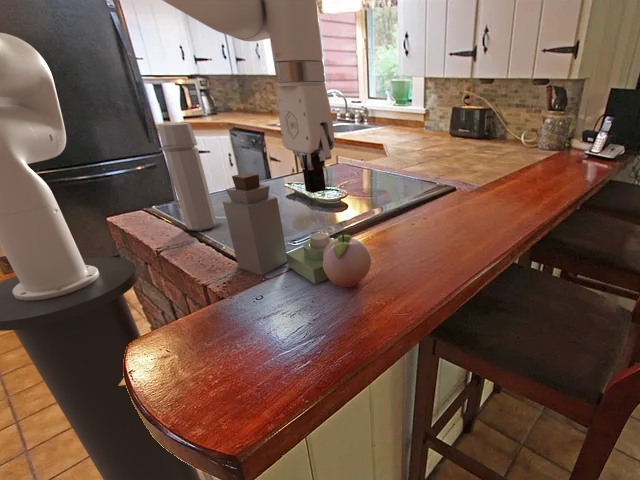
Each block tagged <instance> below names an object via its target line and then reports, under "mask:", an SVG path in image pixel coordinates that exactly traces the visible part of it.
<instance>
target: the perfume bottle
mask: <svg viewBox="0 0 640 480" xmlns="http://www.w3.org/2000/svg"><path fill="white" fill-rule="evenodd" d="M231 179H232V182H233V185H234V186H233V187H229V188H226V189H225V191H226V193H227V196H229V198H230V199H227V200H224V201H222V205H223V209H224V214H225V217H226V223H227V226H228V230H229V234H230V238H231V243H232V247H233V251H234V255H235V260H236V263H237V267H238V269H242V270H244V271H247V272H251V273H253V274H257V275H260V276H263V275H265V274H267V273H269V272H271V271H273V270H275V269H277V268H279V267H281V266H283V265H284V264H287V263H288V261H287V255H286V253H287V248H286V241H285V237H284V231H283V225H282V224H283V223H282V219H281V213H280V206H279V200H278V197H277V196H271V195H269V194H270V185H266V184H260V176H259V174H258V173H253V172H252V173H251V172H244V173H239V174H235V175H231Z"/></svg>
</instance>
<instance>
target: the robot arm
mask: <svg viewBox="0 0 640 480" xmlns="http://www.w3.org/2000/svg"><path fill="white" fill-rule="evenodd" d="M162 1H163V2H164V3H166V4H168V5H170V6H172V7H173V8H175V9H177V10H179V11H180V12H182V13H183V14H185V15H187V16H188V17H190V18H192V19H194V20H196V21H197V22H199V23H201V24H202V25H205V26H206V27H208V28H210V29H212V30H214V31H215V32H218V33H221V34H222V35H227V36H229V37H232V38H235V39H237V40H240V41H243V42H249V43H250V42H259V41H264V40H269V41H270V47H271V48H270V49H271V54H272V60H273V61H272V62H273V68H274V72H275V79H276V87H277V106H278V107H277V108H278V119H279V126H280V134H281V135H280V137H281V141H282V146H283V147H284V148H285V149H286V150H288V151H292V153H293V155H295V156H296V157H297V158H298V160H299V165H300V168H301V169H302V174H303V181H304V188H305V191H306V192H307V193H310V194H315V193H319V192H324V191H326V179H325V170H324V169H325V166H326V161H329V160H331V159H332V152H331V151H332V150H333V149H334V148H335V130H334V121H333V115H332V110H331V104H330V98H329V95H328V90H327V87H326V86H327V83H326V82H327V81H326V72H325V64H324V55H323V45H322V37H321V36H322V35H321V27H320V17H319V6H318V0H162ZM60 105H61V104H60V102H59V98H58V94H57V89H56V85H55V81H54V77H53V75H52V72H51V70H50V68H49V66H48V64H47V62H46V61H45V59H44V58H43V56H42V55H41V54H40V52H38V51H37V49H35V48H34V47H33V46H32V45H31V44H29V43H28V42H26V41H25V40H23V39H21V38H20V37H18V36H15V35H11V34H8V33H5V32H0V248H1V250H2V252H3V254H4V255H5V257H6V259H7V261H8V263H9V264H10V267H11V268H12V270H13V272H14V273H15V276H17V277H18V279H19V281H20V283H19V284H18V285H16V286H15V287H14V288H13V291H12V292H13V294H14V296H15V297H16V298H17V299H19V300H24V301H35V300H43V299H49V298H54V297H58V296H62V295H65V294H68V293H71V292H74V291H77V290H79V289H81V288H83V287H86V286H87V285H89V284H91V283H92V282H94V281H95V280H96V279H97V278H98V276H99V271H98V269H97V268H96V267H93V266H89V265H85V264H84V262H83V259H84V258H83V257H82V255H81V253H80V250H79V248H78V245H77V244H76V241H75V240H74V238H73V235H72V232H71V231H70V228H69V226H68V224H67V222H66V219H65V216H64V215H63V212H62V211H61V209H60V206H59V204H58V202H57V200H56V197H55V196H54V194H53V192H52V190H51V187H49V185H48V184H47V182H46V181H44V180H43V178H42V177H40V176H39V175H38V174H37V173H36V172H35V171H34V170H33V169H31V168H30V166H29V164H34V163H39V162H43V161H47V160H50V159H54V158H56V157H58V156H59V155H61V154H62V153H63V151H64V150H65V148H66V145H67V134H66V133H67V132H66V127H65V122H64V119H63V114H62V110H61V106H60Z"/></svg>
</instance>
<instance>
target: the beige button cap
mask: <svg viewBox="0 0 640 480" xmlns="http://www.w3.org/2000/svg"><path fill="white" fill-rule="evenodd" d="M330 238H331V237H330V234H329V233H328V232H316V233H313V234H310V236H309V240H311V247H312V248H325V247H326V246H327V245H328V244H329V243H330Z"/></svg>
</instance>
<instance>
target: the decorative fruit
mask: <svg viewBox="0 0 640 480" xmlns="http://www.w3.org/2000/svg"><path fill="white" fill-rule="evenodd" d="M334 239H335V240H333V241H331V242H330V243H329V244H328V245H327V246H326V248H325V250H324V253H323V269H324V271H325V273H326V275H327V277H328V278H329V279H328V280H330V281H331V282H332V283H334V284H335V285H337V286H339V287H342V288H350V287H353V286H355V285H357V284H359V283H360V282H361V281H362V280H364V278H366V276H367V275H368V273H369V272H370V270H371V266H372V257H371V254H370V250H369V249H368V247H367V246H366V245H365V244H364V243H363V242H362V241H360V240H359V239H356V238H353V237H352V236H351V235H350V234H344V233H342V234H341V235H338V237H337V238H334Z"/></svg>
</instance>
